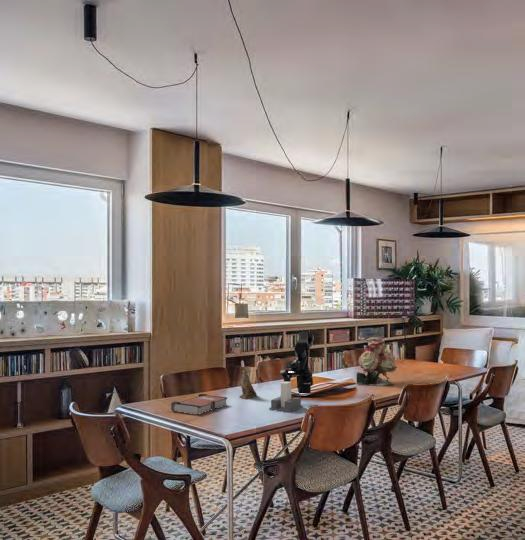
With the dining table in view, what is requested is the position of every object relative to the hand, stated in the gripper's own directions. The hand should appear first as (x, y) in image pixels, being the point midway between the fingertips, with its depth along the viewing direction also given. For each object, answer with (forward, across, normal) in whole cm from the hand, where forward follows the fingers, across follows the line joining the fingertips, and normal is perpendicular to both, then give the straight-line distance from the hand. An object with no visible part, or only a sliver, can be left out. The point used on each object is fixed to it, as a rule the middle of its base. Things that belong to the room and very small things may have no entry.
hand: (291, 387), depth 302 cm
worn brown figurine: (+4, -33, +3) cm, 33 cm away
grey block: (+12, +2, -1) cm, 12 cm away
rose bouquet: (-45, -2, +74) cm, 87 cm away
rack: (+12, +2, 0) cm, 12 cm away
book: (+27, -32, -25) cm, 49 cm away
